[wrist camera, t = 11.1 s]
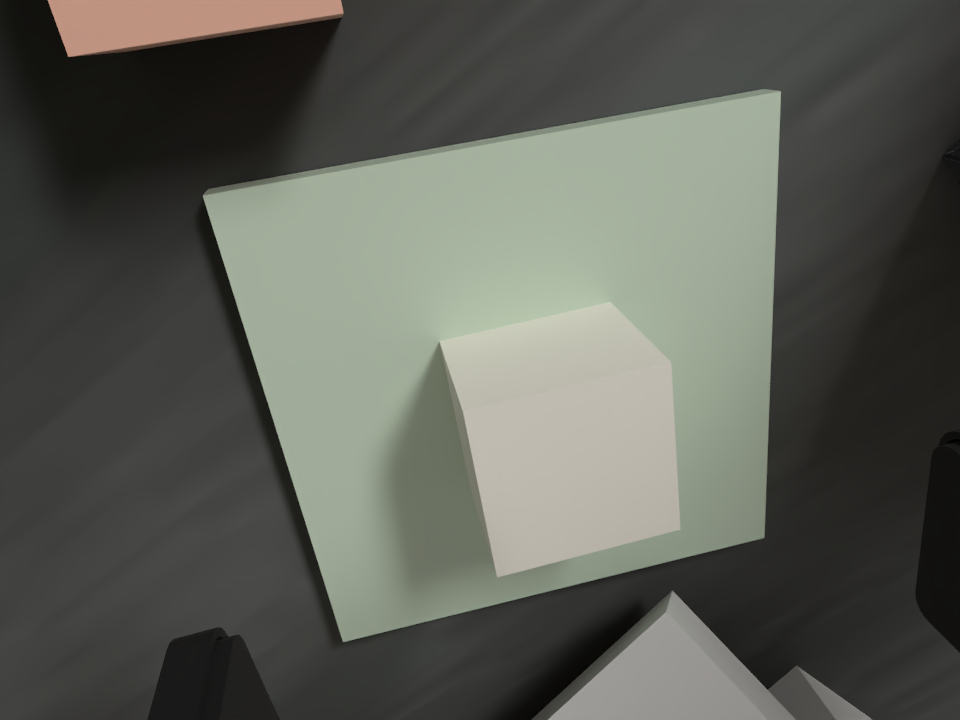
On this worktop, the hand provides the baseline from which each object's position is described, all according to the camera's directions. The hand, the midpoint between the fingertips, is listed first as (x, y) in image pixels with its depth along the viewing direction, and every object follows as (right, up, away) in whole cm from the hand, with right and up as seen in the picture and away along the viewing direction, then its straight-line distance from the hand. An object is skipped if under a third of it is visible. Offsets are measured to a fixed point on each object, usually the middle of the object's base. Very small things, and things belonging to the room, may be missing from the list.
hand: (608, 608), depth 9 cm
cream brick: (0, +2, +16) cm, 16 cm away
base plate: (0, +2, +17) cm, 17 cm away
